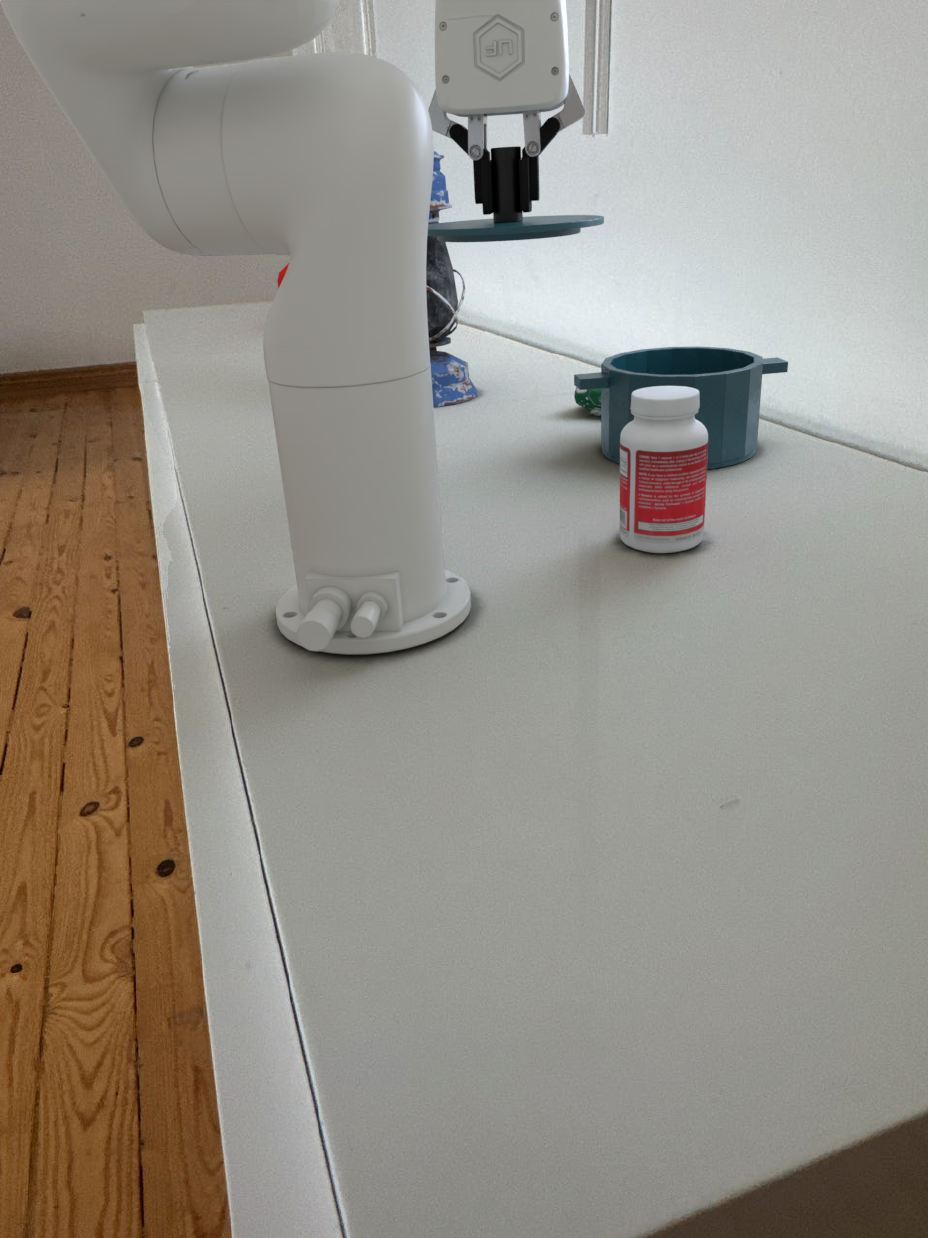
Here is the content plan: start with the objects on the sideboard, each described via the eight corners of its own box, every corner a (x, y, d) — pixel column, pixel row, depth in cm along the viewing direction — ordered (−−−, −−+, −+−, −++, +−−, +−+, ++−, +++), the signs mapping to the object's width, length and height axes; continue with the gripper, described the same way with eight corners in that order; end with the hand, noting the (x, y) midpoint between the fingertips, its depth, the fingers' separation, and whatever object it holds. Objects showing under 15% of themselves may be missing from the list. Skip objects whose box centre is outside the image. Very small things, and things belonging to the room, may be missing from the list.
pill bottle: (721, 541, 71) (730, 390, 66) (660, 562, 68) (664, 405, 63) (661, 520, 76) (665, 378, 71) (602, 539, 73) (602, 392, 68)
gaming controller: (577, 425, 111) (563, 397, 106) (586, 397, 112) (571, 367, 107) (655, 431, 107) (643, 401, 102) (663, 401, 108) (652, 371, 103)
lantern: (477, 407, 115) (462, 124, 102) (375, 413, 115) (347, 132, 103) (477, 381, 129) (464, 130, 116) (385, 386, 129) (362, 136, 117)
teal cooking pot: (810, 459, 88) (819, 365, 85) (597, 480, 86) (597, 384, 83) (747, 422, 101) (752, 339, 98) (560, 439, 99) (559, 355, 96)
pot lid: (627, 234, 73) (628, 137, 71) (423, 248, 72) (416, 149, 69) (579, 225, 87) (578, 144, 85) (407, 237, 86) (401, 155, 83)
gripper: (381, -58, 69) (402, 220, 77) (609, -80, 67) (607, 209, 74) (401, -38, 76) (419, 215, 83) (609, -58, 73) (607, 205, 81)
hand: (507, 210), depth 79 cm, fingers closed on pot lid, 2 cm apart
